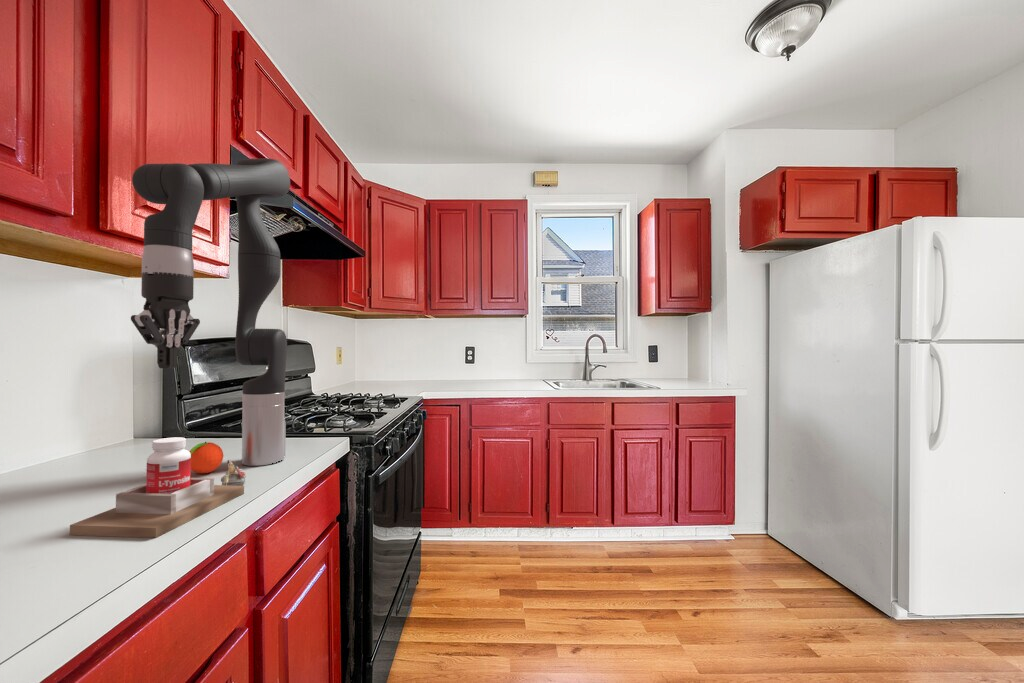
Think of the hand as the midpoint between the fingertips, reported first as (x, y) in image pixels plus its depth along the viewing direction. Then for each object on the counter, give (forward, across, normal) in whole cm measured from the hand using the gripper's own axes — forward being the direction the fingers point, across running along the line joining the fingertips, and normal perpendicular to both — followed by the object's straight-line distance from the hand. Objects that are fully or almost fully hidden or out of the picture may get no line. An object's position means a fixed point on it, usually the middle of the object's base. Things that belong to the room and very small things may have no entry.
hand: (167, 368), depth 81 cm
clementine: (+25, -19, -8) cm, 33 cm away
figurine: (+25, -11, +5) cm, 28 cm away
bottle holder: (+25, +3, +3) cm, 25 cm away
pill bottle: (+24, +3, +3) cm, 24 cm away
